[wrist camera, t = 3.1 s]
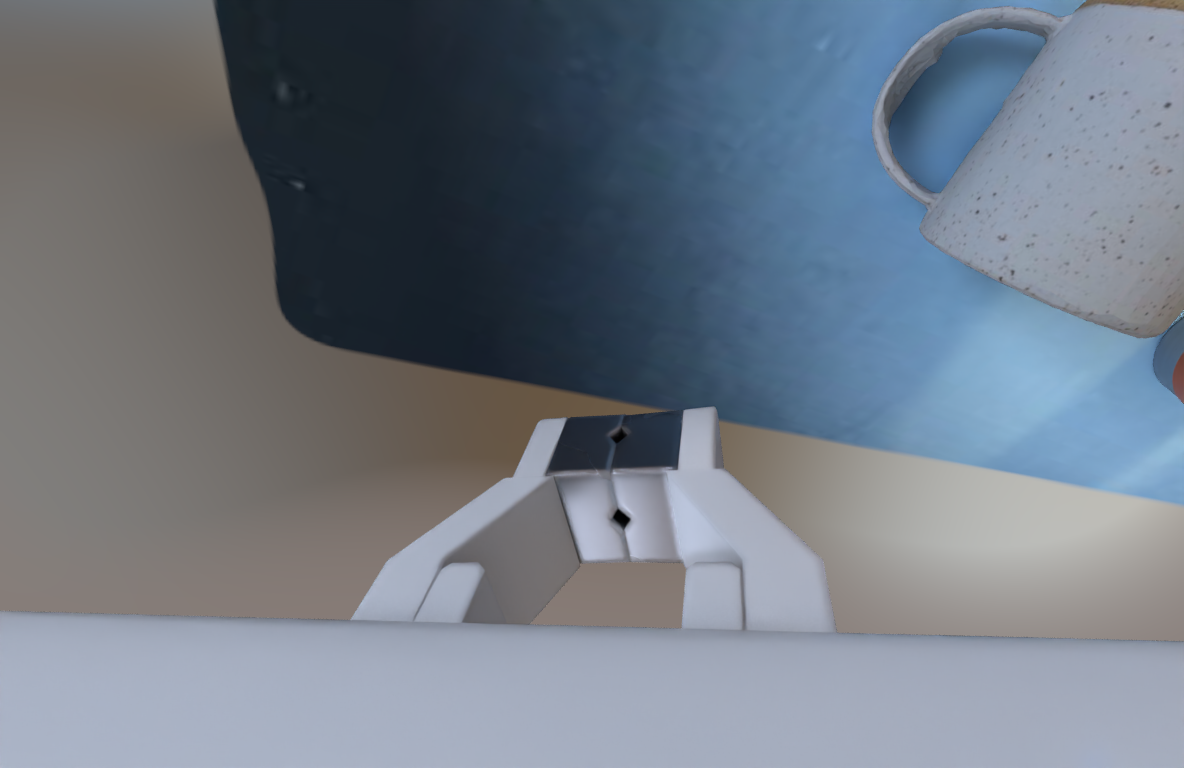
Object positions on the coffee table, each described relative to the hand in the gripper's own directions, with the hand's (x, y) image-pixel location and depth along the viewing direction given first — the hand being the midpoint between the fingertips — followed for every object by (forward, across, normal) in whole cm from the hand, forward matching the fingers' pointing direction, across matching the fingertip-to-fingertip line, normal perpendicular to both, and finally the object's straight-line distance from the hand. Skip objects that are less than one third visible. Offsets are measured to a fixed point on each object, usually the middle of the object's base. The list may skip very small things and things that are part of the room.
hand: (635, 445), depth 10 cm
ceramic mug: (+17, -12, 0) cm, 21 cm away
